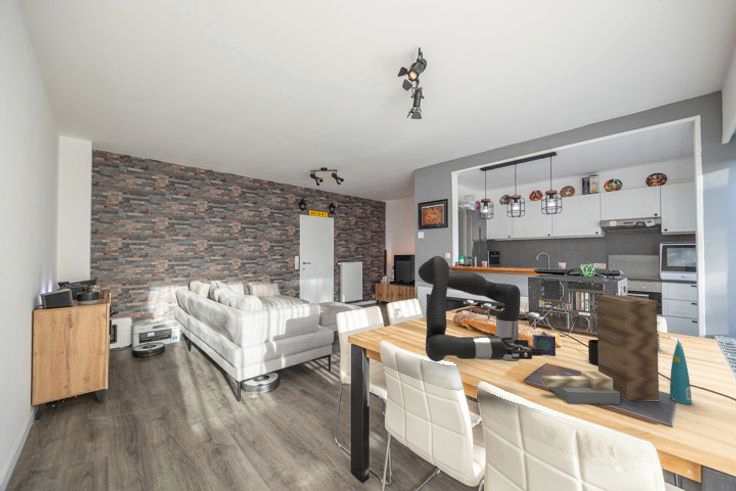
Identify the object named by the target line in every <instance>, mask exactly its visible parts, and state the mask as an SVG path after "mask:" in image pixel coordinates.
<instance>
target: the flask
mask: <svg viewBox="0 0 736 491" xmlns="http://www.w3.org/2000/svg"><path fill="white" fill-rule="evenodd" d="M541 332H542V333H541V334H539V333H534V334H532V348H541V349H542V350H543V355H542V356H550V357H551V356H553V357H556V354H557V352H556V335H553V334H551V333H550V334H548V333H546V331H545V330H542V331H541Z"/></svg>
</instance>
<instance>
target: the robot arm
mask: <svg viewBox="0 0 736 491" xmlns="http://www.w3.org/2000/svg"><path fill="white" fill-rule="evenodd" d="M417 273H418V276H419V278H420V279H421V280H422V281H423V282H424V283H426V284H428V285H432V288H431V293H430V295H429V299H428V301H427V305H426V312H425V313H426V314H425V315H426V316H425V317H426V322H425V323H426V335H425V336H426V337H425V354H426V356H427V357H428V359H429V360H431V361H432V362H435V363H436V362H441V361H442V360H444V359H445V358H446V357H447V356H450V357H456V358H457V359H459V360H460V359H461V360H480V361H485V360H486V361H487V360H489V361H491V360H494V361H497V360H500V361H501V360H505V361H518V360H533V357H541V356H544V355H543V350H542V349H541V348H533V347H531V348H529V344H530V343H529V340H528V339H519V316H520V312H521V290H520V288H519V287H518V286H517V285H515V284H512V283H511V284H510V283H501V282H493V281H489V280H487V279H486V278H485V276H482V275H481V274H478V273H476V272H473V271H468V270H455V271H454V270H453V271H450V267H449V264H448V261H447V260H446V258H444V257H443V256H440V255H435V256H432V257H431V258H430V259H428V260H426V261H425V262H424V263H422V264H421V265H420V267H419V268H418V271H417ZM448 288H449V289H453V290H456V291H458V292H459V291H460V292H463V293H465V294H469V295H473V296H478V297H485V298H487V299H489V300H492V301H494V302H496V303H498V304H503V305H504V308H503V309H502V310H499V311H496V313H495V329H496V330H495V333H494V335H478V336H477V335H476V336H459V337H458V336H455V335H449V334H446V330H447V294H448Z"/></svg>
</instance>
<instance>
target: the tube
mask: <svg viewBox="0 0 736 491" xmlns="http://www.w3.org/2000/svg"><path fill="white" fill-rule="evenodd" d="M670 397H671V398H673V399H675V400H676V401H677V402H676V401H675V402H676V403H678V404H684V405H690V404H692V403H693V400H692V399H693V398H692V391H691V382H690V375H689V370H688V364H687V360H686V355H685V352H684V347H683V345H682V342H681V341H680V340H679V338H678V337H677V338H676V345H675V347H674V352H673V355H672V360H671V368H670V381H669V398H670Z"/></svg>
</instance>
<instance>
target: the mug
mask: <svg viewBox="0 0 736 491" xmlns="http://www.w3.org/2000/svg"><path fill="white" fill-rule="evenodd" d="M587 341H588V342H587V344H588V345H587V347H588V348H587V349H588V351H587V352H588V362H589V363H590V364H592V365H594V366H597V367H598V339H589V340H587Z"/></svg>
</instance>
